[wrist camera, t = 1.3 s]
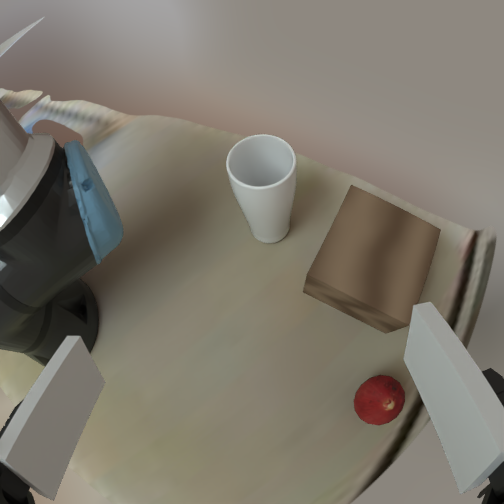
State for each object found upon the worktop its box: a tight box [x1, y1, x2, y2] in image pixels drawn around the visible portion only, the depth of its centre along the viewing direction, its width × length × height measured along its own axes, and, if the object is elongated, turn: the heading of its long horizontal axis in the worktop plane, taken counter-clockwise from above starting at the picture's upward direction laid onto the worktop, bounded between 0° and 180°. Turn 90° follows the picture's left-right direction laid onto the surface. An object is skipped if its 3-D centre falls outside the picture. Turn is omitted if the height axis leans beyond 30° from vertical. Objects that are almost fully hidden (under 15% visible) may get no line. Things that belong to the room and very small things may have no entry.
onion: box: [354, 375, 405, 425], centre depth 29 cm, size 6×6×8 cm
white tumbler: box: [226, 134, 297, 243], centre depth 35 cm, size 7×7×15 cm
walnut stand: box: [303, 185, 441, 333], centre depth 35 cm, size 12×12×8 cm
